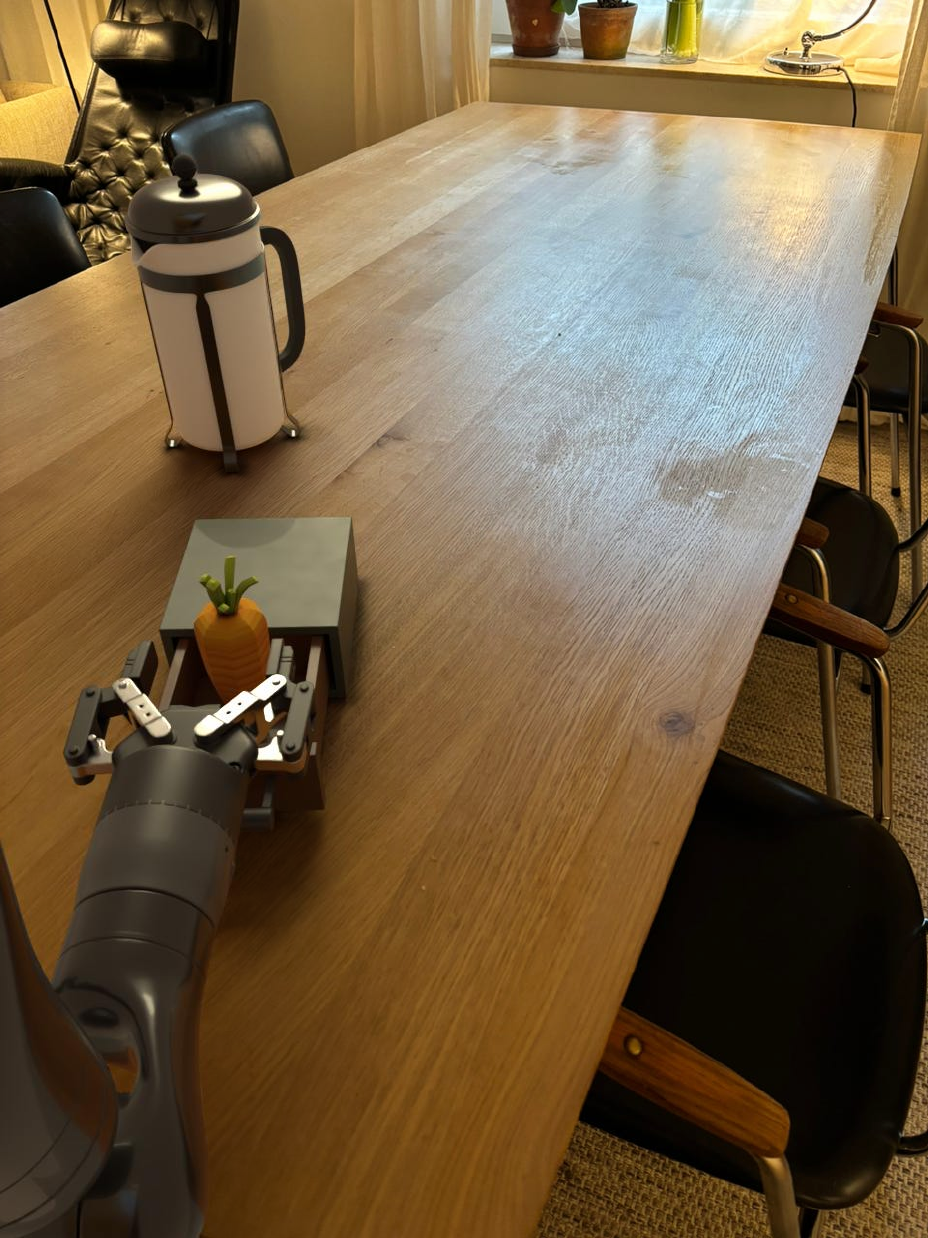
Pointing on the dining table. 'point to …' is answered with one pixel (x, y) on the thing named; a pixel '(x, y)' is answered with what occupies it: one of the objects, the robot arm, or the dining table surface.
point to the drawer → (269, 787)
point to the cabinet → (275, 581)
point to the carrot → (232, 636)
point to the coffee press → (215, 308)
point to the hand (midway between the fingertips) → (215, 649)
